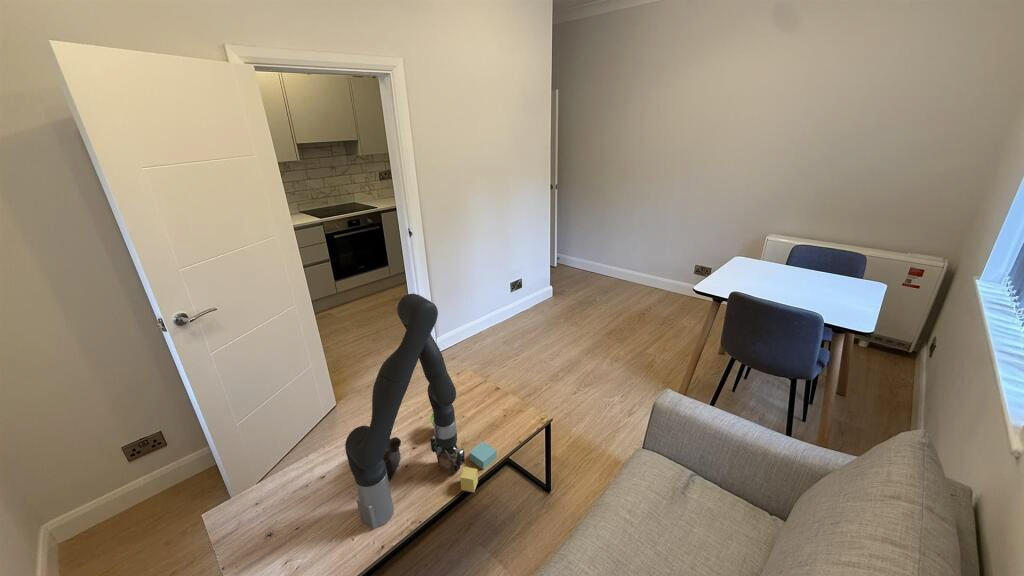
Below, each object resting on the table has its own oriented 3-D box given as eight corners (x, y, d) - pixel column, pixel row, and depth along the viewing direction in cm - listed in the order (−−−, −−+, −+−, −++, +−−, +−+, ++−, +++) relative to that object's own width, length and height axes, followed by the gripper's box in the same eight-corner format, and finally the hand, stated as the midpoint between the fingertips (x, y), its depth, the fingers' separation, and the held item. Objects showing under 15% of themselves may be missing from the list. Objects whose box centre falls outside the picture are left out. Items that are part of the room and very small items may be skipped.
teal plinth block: (483, 470, 147) (483, 462, 145) (470, 460, 151) (469, 452, 150) (496, 458, 152) (496, 450, 150) (483, 449, 156) (482, 441, 154)
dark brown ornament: (361, 479, 143) (352, 440, 136) (374, 455, 153) (367, 417, 146) (404, 484, 142) (397, 444, 134) (414, 459, 152) (409, 421, 144)
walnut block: (449, 475, 145) (448, 462, 142) (440, 469, 147) (438, 457, 145) (457, 466, 148) (456, 454, 146) (448, 461, 151) (447, 449, 148)
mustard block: (474, 492, 138) (473, 479, 136) (461, 490, 139) (460, 477, 137) (477, 481, 142) (477, 469, 140) (465, 479, 143) (464, 466, 141)
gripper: (422, 429, 141) (426, 464, 148) (454, 445, 134) (457, 482, 141) (437, 416, 147) (440, 451, 154) (468, 431, 140) (471, 467, 147)
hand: (448, 466), depth 147 cm, fingers open, 7 cm apart
